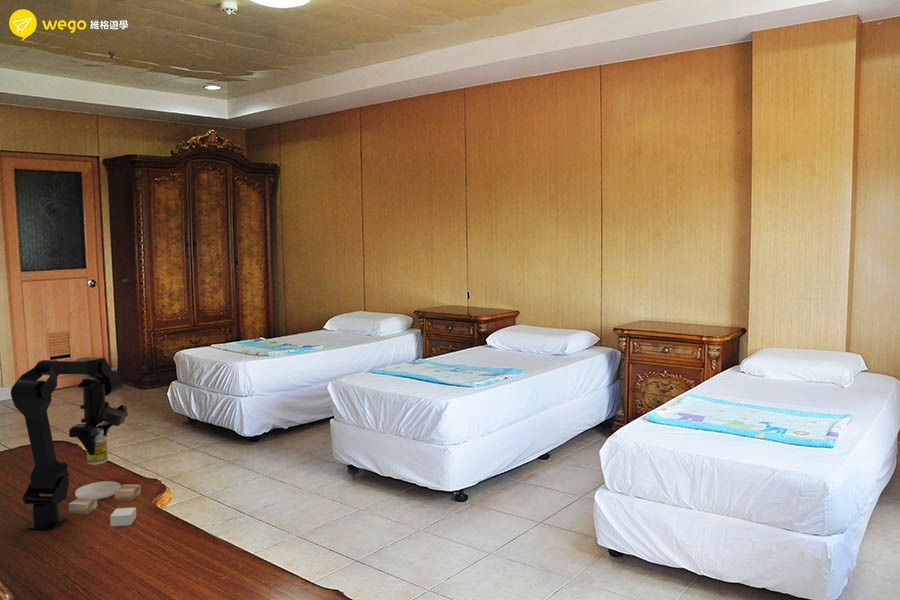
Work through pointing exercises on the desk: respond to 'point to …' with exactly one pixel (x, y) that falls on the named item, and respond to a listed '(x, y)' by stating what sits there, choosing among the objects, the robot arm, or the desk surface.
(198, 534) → the desk surface
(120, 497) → the oak block
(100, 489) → the cream saucer
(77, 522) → the desk surface
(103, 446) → the supplement bottle
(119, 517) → the grey plastic block
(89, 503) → the birch block
